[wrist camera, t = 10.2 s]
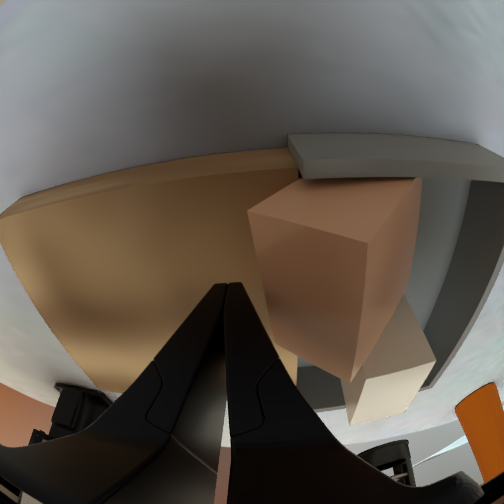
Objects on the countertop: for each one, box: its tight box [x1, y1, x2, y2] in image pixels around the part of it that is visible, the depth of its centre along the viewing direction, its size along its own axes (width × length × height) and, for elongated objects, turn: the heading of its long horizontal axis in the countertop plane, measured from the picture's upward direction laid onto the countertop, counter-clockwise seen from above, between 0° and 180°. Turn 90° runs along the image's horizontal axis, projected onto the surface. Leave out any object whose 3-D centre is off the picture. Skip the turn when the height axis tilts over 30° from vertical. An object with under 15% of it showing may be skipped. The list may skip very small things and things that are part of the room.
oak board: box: [0, 148, 298, 393], centre depth 13 cm, size 13×13×2 cm
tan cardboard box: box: [247, 177, 423, 383], centre depth 8 cm, size 5×5×3 cm
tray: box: [287, 133, 504, 413], centre depth 12 cm, size 14×9×4 cm, turn 6°
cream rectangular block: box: [340, 294, 436, 426], centre depth 12 cm, size 5×5×3 cm
